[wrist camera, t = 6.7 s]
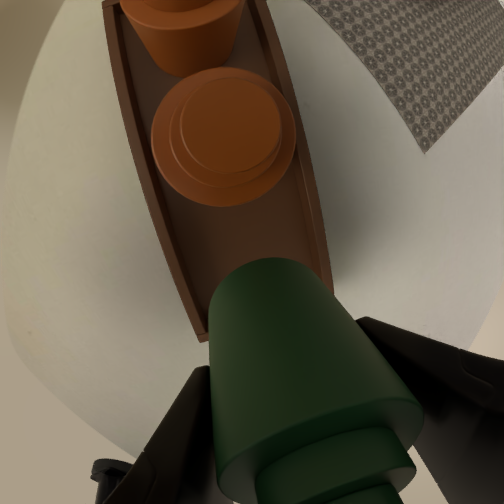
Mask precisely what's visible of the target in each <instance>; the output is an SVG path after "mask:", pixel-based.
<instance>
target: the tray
mask: <svg viewBox="0 0 504 504" xmlns="http://www.w3.org/2000/svg"><path fill="white" fill-rule="evenodd" d="M102 9H103V18H104V25H105V32H106V38H107V44H108V50H109V55H110V61H111V66H112V71H113V76H114V81H115V86H116V91H117V95H118V100H119V104H120V108H121V113H122V117H123V121H124V125H125V129H126V133H127V137H128V141H129V144H130V148H131V152H132V155H133V159H134V163H135V166H136V169H137V173H138V176H139V180H140V183H141V186H142V190H143V193H144V196H145V199H146V202H147V206H148V209H149V212H150V215H151V218H152V221H153V224H154V227H155V230H156V233H157V236H158V238H159V241H160V244H161V247H162V250H163V253H164V255H165V258H166V261H167V264H168V266H169V269H170V272H171V274H172V277H173V279H174V282H175V285H176V287H177V290H178V292H179V295H180V297H181V300H182V302H183V305H184V307H185V310H186V312H187V315H188V317H189V319H190V322H191V324H192V326H193V329H194V331H195V333H196V335H197V338H198V340H199V342H200V343H202V342H206V341H209V323H208V314H209V306H210V301H211V299H212V296H213V294H214V292H215V290H216V288H217V287H218V286H219V284H220V283H221V281H222V280H223V279H224V278H225V277H226V276H227V275H229V274H230V273H231V272H232V271H234V270H235V269H237V268H238V267H240V266H242V265H244V264H246V263H248V262H251V261H254V260H257V259H262V258H271V257H279V258H287V259H292V260H295V261H297V262H300V263H302V264H304V265H306V266H307V267H308V268H310V269H311V270H312V271H313V272H314V273H315V274H316V275H317V276H318V277H319V278H320V279H321V281H322V282H323V283H324V284H325V285H326V287H327V288H328V289H329V290H330V291H331V292H332V294H333V295H334V288H333V280H332V273H331V266H330V260H329V253H328V247H327V241H326V235H325V229H324V223H323V217H322V212H321V207H320V201H319V196H318V191H317V186H316V181H315V176H314V171H313V167H312V162H311V158H310V153H309V149H308V144H307V140H306V136H305V132H304V128H303V123H302V119H301V115H300V112H299V108H298V104H297V100H296V96H295V93H294V89H293V85H292V82H291V78H290V75H289V71H288V68H287V64H286V61H285V58H284V54H283V51H282V48H281V45H280V42H279V38H278V35H277V32H276V29H275V26H274V23H273V20H272V17H271V14H270V12H269V9H268V6H267V3H266V0H245V3H244V6H243V10H242V14H241V18H240V21H239V25H238V29H237V33H236V37H235V41H234V45H233V49H232V52H231V54H230V56H229V57H228V59H227V60H226V61H225V63H224V64H223V65H221V66H220V67H233V68H240V69H244V70H248V71H250V72H253V73H255V74H257V75H259V76H261V77H263V78H264V79H266V80H267V81H269V82H270V83H271V84H272V85H274V86H275V87H276V88H277V89H278V90H279V92H280V93H281V94H282V95H283V97H284V98H285V100H286V101H287V103H288V105H289V107H290V109H291V111H292V114H293V118H294V121H295V128H296V144H295V150H294V154H293V157H292V160H291V162H290V165H289V167H288V169H287V170H286V172H285V174H284V175H283V176H282V178H281V179H280V180H279V181H278V183H277V184H276V185H275V186H274V187H273V188H271V189H270V190H269V191H268V192H266V193H265V194H263V195H262V196H260V197H258V198H256V199H254V200H252V201H250V202H247V203H244V204H240V205H235V206H225V207H218V206H209V205H205V204H201V203H198V202H195V201H193V200H191V199H189V198H186V197H185V196H183V195H182V194H180V193H179V192H177V191H176V190H175V189H174V188H173V187H172V186H170V184H169V183H168V182H167V181H166V180H165V179H164V177H163V176H162V174H161V173H160V171H159V169H158V167H157V165H156V163H155V160H154V156H153V153H152V147H151V129H152V124H153V120H154V116H155V114H156V111H157V109H158V107H159V105H160V103H161V101H162V100H163V98H164V97H165V96H166V95H167V93H168V92H169V91H170V90H171V89H172V88H173V87H174V86H175V85H176V84H178V83H179V82H180V81H181V80H183V79H185V78H181V77H176V76H172V75H170V74H168V73H166V72H164V71H163V70H161V69H160V68H159V67H158V66H157V65H156V63H155V62H154V60H153V58H152V57H151V55H150V54H149V52H148V50H147V49H146V47H145V45H144V44H143V42H142V41H141V39H140V37H139V36H138V34H137V32H136V31H135V29H134V28H133V26H132V24H131V23H130V21H129V20H128V18H127V16H126V15H125V13H124V12H123V10H122V8H121V5H120V1H119V0H105V1H103V2H102ZM334 296H335V295H334Z"/></svg>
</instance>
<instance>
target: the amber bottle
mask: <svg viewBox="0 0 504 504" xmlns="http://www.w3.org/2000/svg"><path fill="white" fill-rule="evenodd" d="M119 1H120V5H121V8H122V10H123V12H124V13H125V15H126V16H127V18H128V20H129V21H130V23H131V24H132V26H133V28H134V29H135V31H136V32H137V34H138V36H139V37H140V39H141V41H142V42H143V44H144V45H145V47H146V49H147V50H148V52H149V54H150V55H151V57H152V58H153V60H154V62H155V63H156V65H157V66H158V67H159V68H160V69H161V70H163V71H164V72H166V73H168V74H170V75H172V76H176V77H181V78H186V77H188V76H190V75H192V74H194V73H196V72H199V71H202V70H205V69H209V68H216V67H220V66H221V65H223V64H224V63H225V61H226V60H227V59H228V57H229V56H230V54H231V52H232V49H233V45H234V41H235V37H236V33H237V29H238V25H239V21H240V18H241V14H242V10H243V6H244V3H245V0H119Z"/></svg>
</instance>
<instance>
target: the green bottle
mask: <svg viewBox="0 0 504 504" xmlns="http://www.w3.org/2000/svg"><path fill="white" fill-rule="evenodd" d="M208 323H209V363H210V389H211V409H212V427H213V442H214V456H215V469H216V481H217V485H218V488H219V489H220V491H221V492H222V494H224V495H225V496H226V497H227V498H229V499H230V500H232V501H234V502H237V503H240V504H404V503H403V502H402V500H401V498H400V496H399V494H398V493H399V492H400V491H401V490H402V489H404V488H405V487H406V486H407V485H408V484H409V483H410V482H411V481H412V479H413V478H414V477H415V474H416V471H417V470H416V466H415V464H414V463H413V461H412V459H411V458H410V456H409V454H408V453H407V451H408V450H409V449H410V447H411V446H412V445H413V444H414V442H415V441H416V439H417V438H418V436H419V434H420V432H421V430H422V427H423V424H424V411H423V408H422V406H421V405H420V403H419V402H418V401H417V399H416V398H415V397H414V395H413V394H412V393H411V391H410V390H409V389H408V387H407V386H406V385H405V384H404V382H403V381H402V380H401V378H400V377H399V376H398V374H397V373H396V372H395V371H394V369H393V368H392V367H391V365H390V364H389V363H388V362H387V360H386V359H385V358H384V357H383V355H382V354H381V353H380V351H379V350H378V349H377V348H376V346H375V345H374V344H373V343H372V341H371V340H370V339H369V338H368V336H367V335H366V334H365V333H364V331H363V330H362V329H361V328H360V327H359V325H358V324H357V323H356V322H355V320H354V319H353V318H352V317H351V315H350V314H349V313H348V312H347V311H346V309H345V308H344V307H343V306H342V305H341V303H340V302H339V301H338V300H337V299H336V297H335V296H334V295H333V294H332V292H331V291H330V290H329V289H328V288H327V287H326V285H325V284H324V283H323V282H322V281H321V279H320V278H319V277H318V276H317V275H316V274H315V273H314V272H313V271H312V270H311V269H310V268H308V267H307V266H306V265H304V264H302V263H300V262H297V261H295V260H292V259H287V258H279V257H271V258H262V259H257V260H254V261H251V262H248V263H246V264H244V265H242V266H240V267H238V268H237V269H235V270H234V271H232V272H231V273H230V274H229V275H227V276H226V277H225V278H224V279H223V280H222V281H221V283H220V284H219V286H218V287H217V288H216V290H215V292H214V294H213V296H212V299H211V301H210V306H209V314H208Z"/></svg>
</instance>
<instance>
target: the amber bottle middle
mask: <svg viewBox="0 0 504 504" xmlns="http://www.w3.org/2000/svg"><path fill="white" fill-rule="evenodd" d="M295 144H296V128H295V121H294V118H293V114H292V111H291V109H290V107H289V105H288V103H287V101H286V100H285V98H284V97H283V95H282V94H281V93H280V92H279V90H278V89H277V88H276V87H275V86H274V85H272V84H271V83H270V82H269V81H267V80H266V79H264V78H263V77H261V76H259V75H257V74H255V73H253V72H250V71H248V70H244V69H240V68H233V67H216V68H209V69H205V70H202V71H199V72H196V73H194V74H192V75H190V76H188V77H186V78H185V79H183V80H181V81H180V82H179V83H178V84H176V85H175V86H174V87H173V88H172V89H171V90H170V91H169V92H168V93H167V95H166V96H165V97H164V98H163V100H162V101H161V103H160V105H159V107H158V109H157V111H156V114H155V116H154V120H153V124H152V129H151V147H152V153H153V156H154V160H155V163H156V165H157V167H158V169H159V171H160V173H161V174H162V176H163V177H164V179H165V180H166V181H167V182H168V183H169V184H170V186H172V187H173V188H174V189H175V190H176V191H177V192H179V193H180V194H182V195H183V196H185V197H186V198H189V199H191V200H193V201H195V202H198V203H201V204H205V205H209V206H218V207H225V206H235V205H240V204H244V203H247V202H250V201H252V200H254V199H256V198H258V197H260V196H262V195H263V194H265V193H266V192H268V191H269V190H270V189H271V188H273V187H274V186H275V185H276V184H277V183H278V181H279V180H280V179H281V178H282V176H283V175H284V174H285V172H286V170H287V169H288V167H289V165H290V162H291V160H292V157H293V154H294V150H295Z"/></svg>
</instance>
